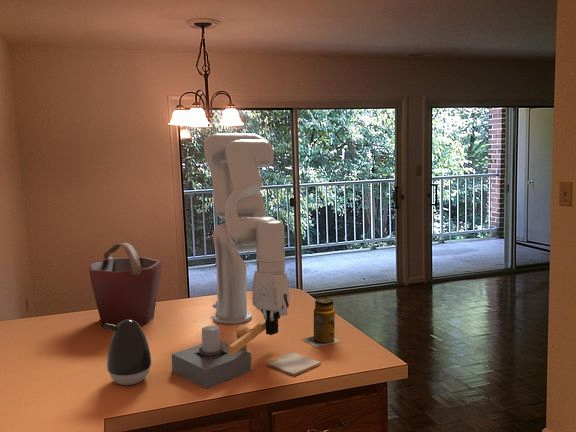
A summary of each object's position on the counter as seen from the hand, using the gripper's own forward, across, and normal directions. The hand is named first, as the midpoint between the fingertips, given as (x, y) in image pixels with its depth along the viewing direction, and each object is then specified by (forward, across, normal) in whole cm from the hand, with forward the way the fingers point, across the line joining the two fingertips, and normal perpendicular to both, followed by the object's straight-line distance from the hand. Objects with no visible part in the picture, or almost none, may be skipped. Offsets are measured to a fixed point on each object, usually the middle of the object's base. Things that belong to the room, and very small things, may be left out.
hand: (272, 333), depth 143 cm
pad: (+6, +9, -1) cm, 11 cm away
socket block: (+6, -3, -15) cm, 17 cm away
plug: (+6, -4, -18) cm, 19 cm away
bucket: (+5, -55, -11) cm, 57 cm away
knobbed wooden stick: (-1, -2, -7) cm, 7 cm away
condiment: (+6, +3, +17) cm, 18 cm away
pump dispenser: (+6, -14, -35) cm, 38 cm away
